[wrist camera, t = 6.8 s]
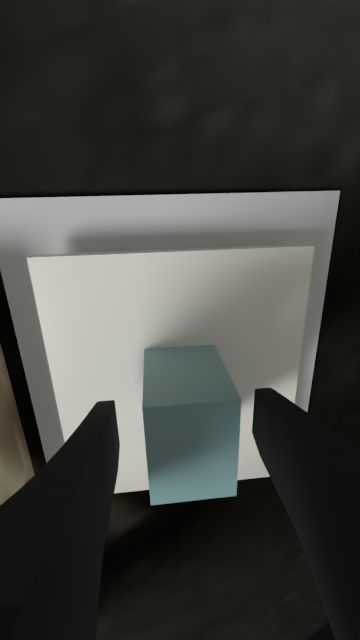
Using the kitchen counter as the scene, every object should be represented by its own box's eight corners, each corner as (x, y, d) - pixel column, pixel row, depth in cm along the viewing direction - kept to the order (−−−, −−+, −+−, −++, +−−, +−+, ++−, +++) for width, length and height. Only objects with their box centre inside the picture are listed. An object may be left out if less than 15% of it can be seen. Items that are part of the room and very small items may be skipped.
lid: (270, 447, 18) (328, 556, 12) (84, 465, 17) (51, 593, 11) (291, 241, 13) (393, 260, 8) (44, 251, 12) (-40, 281, 7)
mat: (296, 462, 19) (299, 467, 18) (55, 487, 17) (53, 493, 17) (334, 191, 13) (340, 190, 13) (-12, 199, 12) (-17, 198, 12)
